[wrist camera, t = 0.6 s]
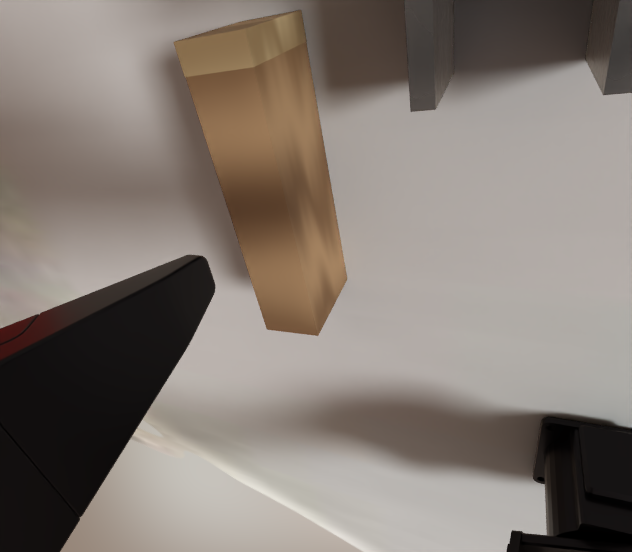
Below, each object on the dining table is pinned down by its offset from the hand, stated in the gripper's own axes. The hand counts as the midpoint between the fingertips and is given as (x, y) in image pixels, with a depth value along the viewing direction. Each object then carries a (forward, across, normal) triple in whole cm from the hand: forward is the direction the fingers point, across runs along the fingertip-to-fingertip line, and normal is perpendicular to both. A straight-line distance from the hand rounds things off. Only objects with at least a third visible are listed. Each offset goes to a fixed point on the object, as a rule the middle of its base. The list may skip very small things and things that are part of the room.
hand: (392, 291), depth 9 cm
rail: (+13, +8, +3) cm, 15 cm away
